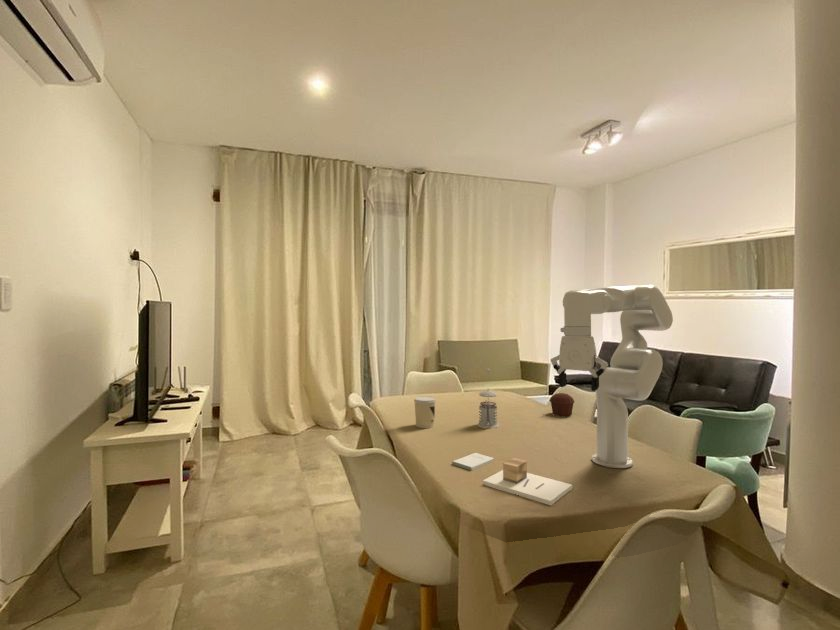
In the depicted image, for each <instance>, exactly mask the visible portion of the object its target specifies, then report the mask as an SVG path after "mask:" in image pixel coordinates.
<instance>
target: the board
mask: <svg viewBox="0 0 840 630" xmlns="http://www.w3.org/2000/svg"><path fill="white" fill-rule="evenodd" d="M482 485H483V486H486V487H489V488H493V489H496V490H499V491H502V492H506V493H508V494H512V495H515V494H516V495H515V496H518V495H519V497H522V498H526V499H529V500H532V501H535V502H538V503H541V504H545V505H549V506H552V505H554V504H556V503H557V502H558V500H560V499H561V498H563V497H564V496H565V495H566V494H568V493H569V492H570V491H572V490H573V484H571V483H566V482H563V481H561V480H560V481H559V480H556V479H552V478H548V477H544V476H541V475H537V474H533V473H530V472H527V478H526V479H524V480H523V481H521V482H519V483H518V484H515V483H512V482H508V481H505V480H503V469H502V470H499V471H498V472H496V473H494V474H493V475H490V476H488V477H487V478H485V479H483V481H482Z"/></svg>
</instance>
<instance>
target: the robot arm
mask: <svg viewBox="0 0 840 630" xmlns="http://www.w3.org/2000/svg"><path fill="white" fill-rule="evenodd" d="M562 307H563V309H564V310H563V312H564V315H563V317H564V319H563V321H564V326H563V327H560V332H561V333H563V335H562V336H561V340H560V345H559V354H558V355H556V356H554V357H552V358H550V362H551V365H552V366H553V369H554V370H555V371H556V373H557V374H558V383H559V387H560V388H564V387H566V386H567V381H568V380H567V373H566V371H580V372H589V373H590V375H591V376H592V377H591V378H590V379H591V380H590V382H591V384H590V385H591V386H590V387H591V388H590V389H591V391H592V392H595V397H596V453H594V454H592V455H591V460H592V462H594V463H595V464H597V465H599V466H602V467H605V468H612V469H628V468H631V467H632V466H633V465H634V461H633V459H632V458H630V456H629V455H628V449H629V445H628V444H629V441H628V440H629V436H628V433H629V431H628V430H629V423H628V422H629V412H628V407H627V405H626V403H625V402H624V400H623V399H627V400H632V401H645V400H646V399H648V398H649V396H650V395H651V393H652V391H653V389H654V387H656V384H657V382H658V380H659V377H660V376H661V373H662V371H663V363H664V361H663V357H662V355H661V354H660V352H659V351H657V350H656V349H652V348H648V343H647V340H646V339H645V337H644V336H643V335H642V334H641V333H640V331H655V332H656V331H657V332H662V331H663V332H664V331H667V330H669V329H670V328H671V326H673V321H674V319H673V316H674V315H673V313H672V310H671V308H670V306H669V304H668V302H667V301H666V298H665V297H664V295H663V293H662V292H661V290H660V289H659V288H658V287H657V286H655V285H653V284H649V285H648V284H644V285H640V284H639V285H625V286H624V285H623V286H621V285H620V286H608V287H607V286H605V287H598V288H590V289H589V288H588V289H578V290H569V291H567V292H565V293H564V296H563V298H562ZM618 312H621V313H620V317H619V318H620V319H619V320H620V321H619V322H620V330H621V341H620V343H619V344H618V346H617V348H615V351H614V352H613V354H612V356H611V358H610V362H609V363H608V361H605V360H604V359H602V358H600V357H599V356H597V349H596V343H595V338H594V336H592V316H591V315H601V314H606V313H618ZM598 364H599V365H600V367H599V369H598V368H597V366H598ZM609 365H610V367H609ZM628 456H629V457H628Z"/></svg>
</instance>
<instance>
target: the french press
mask: <svg viewBox="0 0 840 630" xmlns="http://www.w3.org/2000/svg"><path fill="white" fill-rule="evenodd" d="M485 372H487V373H489V372H491V369H490V368H486V369H485ZM478 395H479V396H480V397H484V398H492V397H493V398H494V397H497V396H498V393H496V392H495V391H492V390H489V389H486V390H483V391H481V392H480V393H478ZM479 404H480V405H479V406H478V409H479V410H478V412H479V413H478V423H477V424H476V426H477V427H479V428H481V429H482V428H483V429H497V428H499V427H500V424H499V423H498V407H497V403H496V402H494V401H491V400H488V401H481V402H480V403H479ZM496 427H497V428H496Z"/></svg>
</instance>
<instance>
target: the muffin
mask: <svg viewBox="0 0 840 630" xmlns="http://www.w3.org/2000/svg"><path fill="white" fill-rule="evenodd" d="M549 402H550V404H551V411H552V415H553V414H555V415H554V416H556V415H560V416H559V417H562V416H565V417H571V416H570V415H572V414H573V408H574V403H575V402H576V401H575V400H574V398H573V396H571V395H570V394H568V393H564V392H557V393H554V394H553V395H551V397H550V398H549ZM572 416H573V415H572Z"/></svg>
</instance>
